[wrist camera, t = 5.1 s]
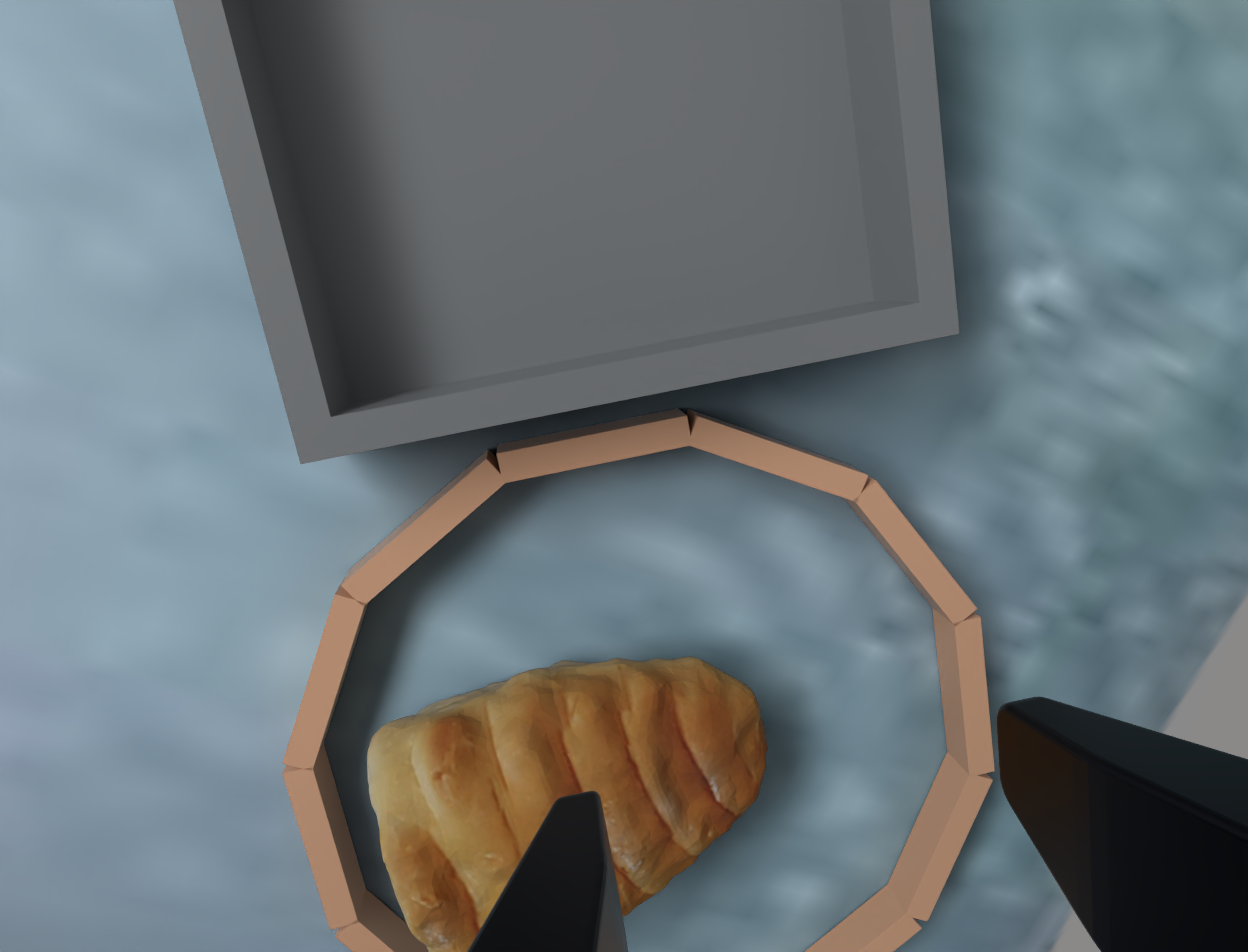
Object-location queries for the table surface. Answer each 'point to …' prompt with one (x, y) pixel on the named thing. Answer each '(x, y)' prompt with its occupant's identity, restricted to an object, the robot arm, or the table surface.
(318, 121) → the bin
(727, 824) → the pastry
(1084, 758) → the robot arm
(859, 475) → the socket ring
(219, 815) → the table surface
